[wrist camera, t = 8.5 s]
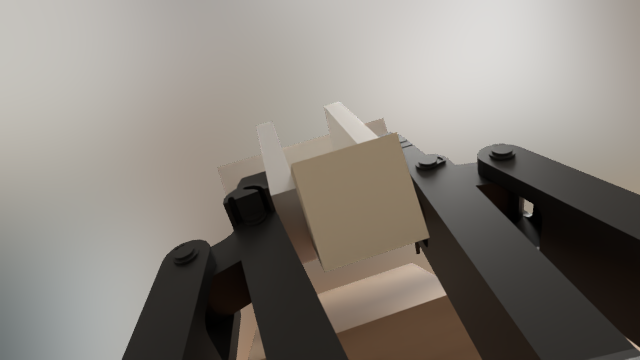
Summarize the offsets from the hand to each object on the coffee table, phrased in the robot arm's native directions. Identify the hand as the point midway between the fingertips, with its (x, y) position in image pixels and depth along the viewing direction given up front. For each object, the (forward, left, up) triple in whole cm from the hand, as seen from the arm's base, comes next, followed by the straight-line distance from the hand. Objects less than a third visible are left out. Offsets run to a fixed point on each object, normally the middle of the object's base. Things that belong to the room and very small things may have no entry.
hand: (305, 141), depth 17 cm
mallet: (0, 0, -6) cm, 6 cm away
